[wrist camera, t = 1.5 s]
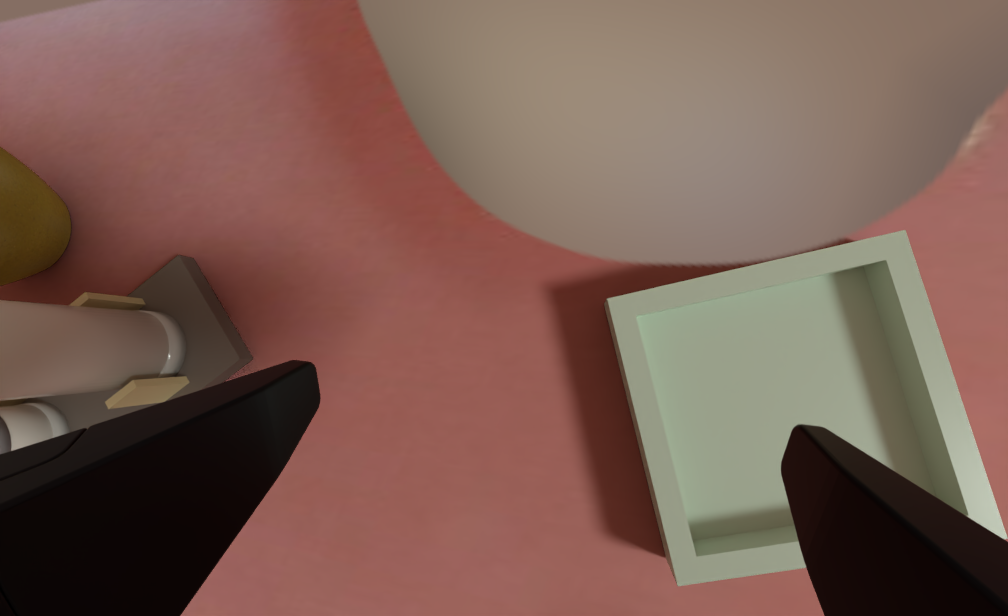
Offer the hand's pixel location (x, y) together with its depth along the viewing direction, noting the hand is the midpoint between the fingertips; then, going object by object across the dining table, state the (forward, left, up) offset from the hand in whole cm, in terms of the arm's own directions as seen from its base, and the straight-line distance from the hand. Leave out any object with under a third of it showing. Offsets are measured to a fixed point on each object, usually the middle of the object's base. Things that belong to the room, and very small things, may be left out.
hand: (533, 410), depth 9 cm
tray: (+9, -3, -14) cm, 17 cm away
